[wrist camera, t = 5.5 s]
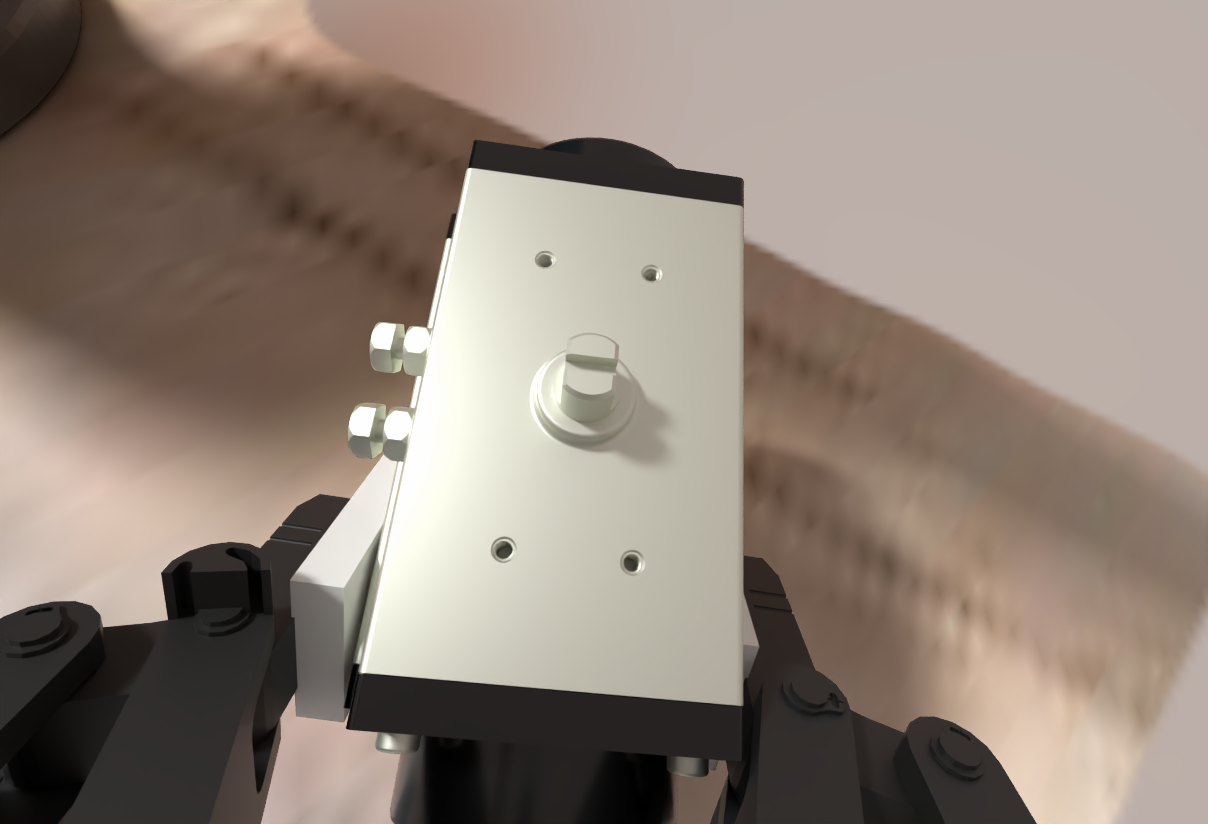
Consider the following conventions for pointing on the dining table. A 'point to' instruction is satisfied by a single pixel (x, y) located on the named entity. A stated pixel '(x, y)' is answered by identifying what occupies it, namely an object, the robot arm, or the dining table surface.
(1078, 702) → the dining table surface
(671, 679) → the pneumatic valve
